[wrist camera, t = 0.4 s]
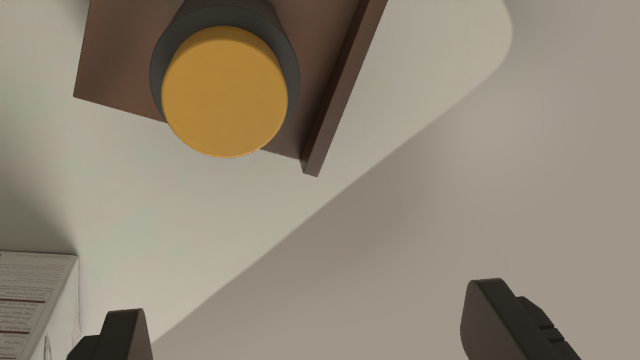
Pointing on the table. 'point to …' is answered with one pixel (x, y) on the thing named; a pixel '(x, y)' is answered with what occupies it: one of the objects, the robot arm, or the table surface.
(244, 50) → the spice bottle
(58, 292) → the white packaging box
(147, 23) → the spice shelf
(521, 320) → the robot arm
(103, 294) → the table surface
